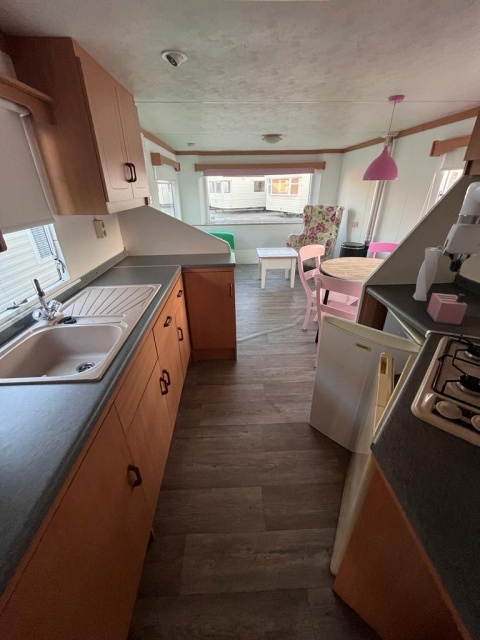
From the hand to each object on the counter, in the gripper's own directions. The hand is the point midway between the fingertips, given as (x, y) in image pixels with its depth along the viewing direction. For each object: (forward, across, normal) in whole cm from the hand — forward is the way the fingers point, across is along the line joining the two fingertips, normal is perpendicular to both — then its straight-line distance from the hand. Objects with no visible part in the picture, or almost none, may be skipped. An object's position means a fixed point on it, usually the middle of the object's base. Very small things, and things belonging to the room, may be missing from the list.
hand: (453, 271), depth 102 cm
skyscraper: (+23, -2, -34) cm, 41 cm away
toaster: (+23, -6, -10) cm, 26 cm away
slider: (+14, -8, -7) cm, 17 cm away
